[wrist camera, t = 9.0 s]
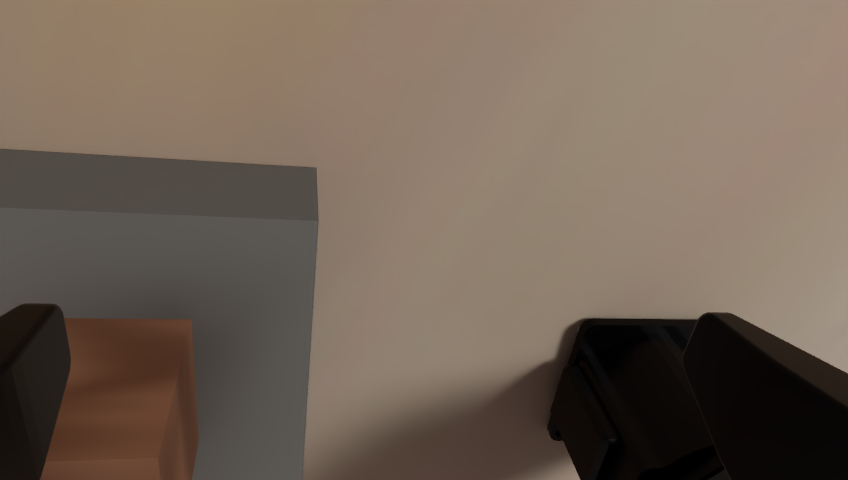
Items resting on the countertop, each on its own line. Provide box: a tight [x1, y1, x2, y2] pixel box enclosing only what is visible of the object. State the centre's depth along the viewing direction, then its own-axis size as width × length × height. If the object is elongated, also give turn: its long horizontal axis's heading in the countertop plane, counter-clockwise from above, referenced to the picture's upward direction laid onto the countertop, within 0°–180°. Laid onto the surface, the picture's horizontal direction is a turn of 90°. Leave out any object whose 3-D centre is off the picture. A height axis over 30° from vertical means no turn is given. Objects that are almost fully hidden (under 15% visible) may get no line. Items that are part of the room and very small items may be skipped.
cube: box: [40, 318, 199, 480], centre depth 17 cm, size 5×5×5 cm
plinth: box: [0, 149, 318, 480], centre depth 21 cm, size 12×12×4 cm
